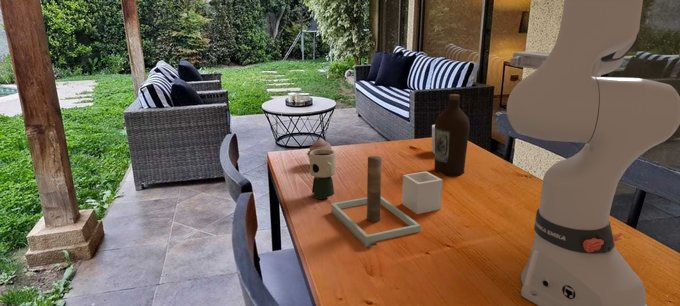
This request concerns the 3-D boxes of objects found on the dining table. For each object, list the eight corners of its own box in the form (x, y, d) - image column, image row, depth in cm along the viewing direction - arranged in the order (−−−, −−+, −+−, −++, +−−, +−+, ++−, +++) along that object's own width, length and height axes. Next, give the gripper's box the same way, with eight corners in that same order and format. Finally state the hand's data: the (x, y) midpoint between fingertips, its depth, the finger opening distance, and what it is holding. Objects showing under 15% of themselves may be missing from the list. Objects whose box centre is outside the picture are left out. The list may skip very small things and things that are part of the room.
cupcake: (323, 160, 159) (323, 132, 156) (340, 166, 152) (340, 138, 149) (301, 165, 153) (300, 137, 151) (317, 172, 146) (317, 143, 144)
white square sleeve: (440, 212, 116) (442, 179, 114) (416, 217, 114) (418, 184, 111) (424, 202, 123) (426, 171, 120) (401, 206, 120) (403, 175, 117)
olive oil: (451, 164, 154) (456, 91, 146) (473, 173, 145) (479, 96, 137) (425, 169, 149) (429, 93, 142) (446, 178, 140) (452, 99, 133)
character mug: (304, 192, 131) (302, 148, 127) (326, 187, 134) (325, 145, 130) (319, 205, 121) (318, 159, 117) (343, 200, 124) (342, 155, 120)
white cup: (452, 156, 162) (454, 129, 159) (430, 155, 164) (431, 128, 161) (452, 150, 170) (453, 124, 167) (430, 149, 171) (432, 123, 168)
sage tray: (420, 235, 105) (420, 225, 104) (366, 247, 99) (366, 237, 99) (379, 203, 122) (379, 195, 122) (331, 212, 117) (331, 203, 116)
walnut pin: (382, 221, 110) (383, 159, 105) (370, 224, 109) (371, 160, 104) (376, 216, 113) (377, 155, 108) (364, 218, 111) (365, 156, 107)
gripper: (537, 45, 121) (496, 47, 116) (607, 50, 104) (563, 53, 98) (534, 69, 123) (494, 72, 118) (602, 78, 105) (559, 82, 100)
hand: (526, 63), depth 108 cm, fingers open, 8 cm apart
